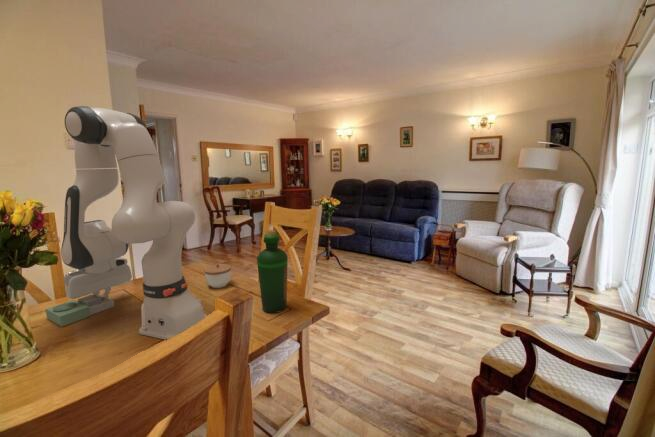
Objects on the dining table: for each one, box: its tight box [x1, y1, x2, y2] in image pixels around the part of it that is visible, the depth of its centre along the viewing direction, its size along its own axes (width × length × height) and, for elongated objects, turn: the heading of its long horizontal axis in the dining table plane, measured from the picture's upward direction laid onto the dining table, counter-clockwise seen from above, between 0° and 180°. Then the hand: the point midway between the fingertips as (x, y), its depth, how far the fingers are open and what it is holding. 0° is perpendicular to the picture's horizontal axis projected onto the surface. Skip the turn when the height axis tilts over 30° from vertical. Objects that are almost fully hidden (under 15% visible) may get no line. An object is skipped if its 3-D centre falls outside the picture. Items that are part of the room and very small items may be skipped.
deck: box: [45, 294, 116, 327], centre depth 109 cm, size 11×16×4 cm
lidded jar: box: [203, 263, 232, 289], centre depth 131 cm, size 11×11×9 cm
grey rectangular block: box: [77, 293, 102, 307], centre depth 111 cm, size 6×4×4 cm
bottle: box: [256, 229, 289, 314], centre depth 109 cm, size 11×11×28 cm
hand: (103, 300), depth 115 cm, fingers closed
